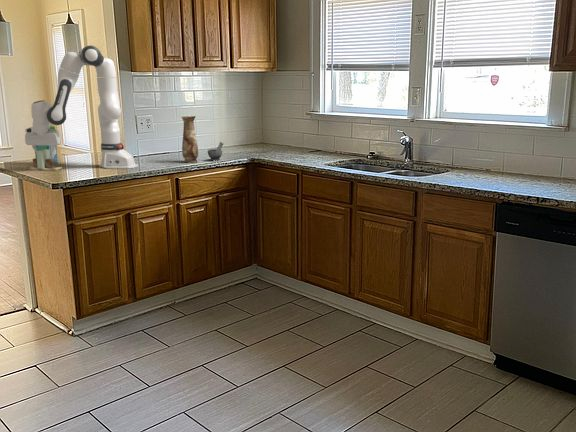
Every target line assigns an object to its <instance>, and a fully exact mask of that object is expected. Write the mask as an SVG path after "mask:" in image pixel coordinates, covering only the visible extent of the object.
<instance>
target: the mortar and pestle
mask: <svg viewBox="0 0 576 432" xmlns="http://www.w3.org/2000/svg"><path fill="white" fill-rule="evenodd" d="M223 145H224V143H223V142H221V141H220V142H219V144H218V146H217V147H216V148H215V149H214V148H213V149H207V155H208V157H209V158H210V159H211V160H220V161H221V159H220V158H221V157H222V155H223V149H222V148H223ZM211 160H210V161H211Z"/></svg>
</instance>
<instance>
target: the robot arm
mask: <svg viewBox="0 0 576 432" xmlns="http://www.w3.org/2000/svg"><path fill="white" fill-rule="evenodd" d="M83 66H88V67H89V66H92V67H94V69H95V70H96V71H95V72H96V81H97V82H96V83H97V92H98V93H97V94H98V97H99V102H100V103H99V104H98V106H97V113H98V121H99V126H100V137H101V138H100V141H101V143H100V149H101V150H100V151H101V158H100V159H101V161H100V165H99V166H100V167H101V168H103V169H123V170H125V169H129V170H130V169H134V168H138V167H139V164H138V163H135V159H134V156H133V155H132V154H131V153H129V152H128V151H127V150H126V149H125V144H123V143H121V142H122V141H121V128H120V125H119V118H120V117H121V114H122V109H121V103H120V96H119V93H118V80H117V72H116V71H117V70H116V67H115V63H114V61H113V59H111V58H108V57H104V56H103V54H102V52H101V51H100V50H99V48H98V47H97V46H94V45H85V46H84V47H82V48H81V50H80V51H79V52H75V51H68V52H66V53H65V54H64V56H63V57H62V60H61V63H60V65H59V69H58V72H57V92H56V96H55V100H54V103H53V104H51V103H49V102H47V101H46V100H44V99H43V100H37V101H34V102H32V104H31V109H30V110H31V111H30V112H31V118H32V126H30V127H27V128H25V129H24V132H25V134H24V141H25V144H26V145H27V146H31V147H32V149H33V150H34V153H36V151H38V150H37V149H36V145H49V146H51V147H52V148H51V150H49V151H50V153H54V151H53V150H54V148H55V146H56V147H57V146H61V137H60V133H59V131H58V130H57V129H56V128H55V129H54V130H53V129H50V126H49V124H50V125H52V126H60V125H63V124H64V123H65V122H66V120H67V112H66V108H67V104H68V101H69V96H70V93H71V92H72V90H73V89H74V87H75V85H76V84H77V82H78V79H79V77H80V73H81V70H82V68H83Z"/></svg>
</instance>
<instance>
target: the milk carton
mask: <svg viewBox="0 0 576 432" xmlns="http://www.w3.org/2000/svg"><path fill="white" fill-rule="evenodd" d="M49 126H50V129H53V130H54V129H56V127H55V125H52V124H51V123H49ZM51 148H52V147H51V146H49V145H36V149H37V150H38V151H40V150H45V149H48V150H51ZM57 149H58V148H57V146H55V148H54V150H53V151H54V153H50V159H55V163H56V164H58V163H59V161H58V160H59V159H58V150H57ZM34 153H35V152H34ZM35 158H37V153H35Z"/></svg>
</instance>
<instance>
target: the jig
mask: <svg viewBox="0 0 576 432" xmlns="http://www.w3.org/2000/svg"><path fill="white" fill-rule="evenodd" d="M59 169H60V170H62V169H63V166H56V164H55V159H46V164H45V168H43V169H38V165H37V158H36V157H35V158H32V165H31V166H27V167H26V170H33V171H35V170H36V171H53V170H56V171H59Z"/></svg>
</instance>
